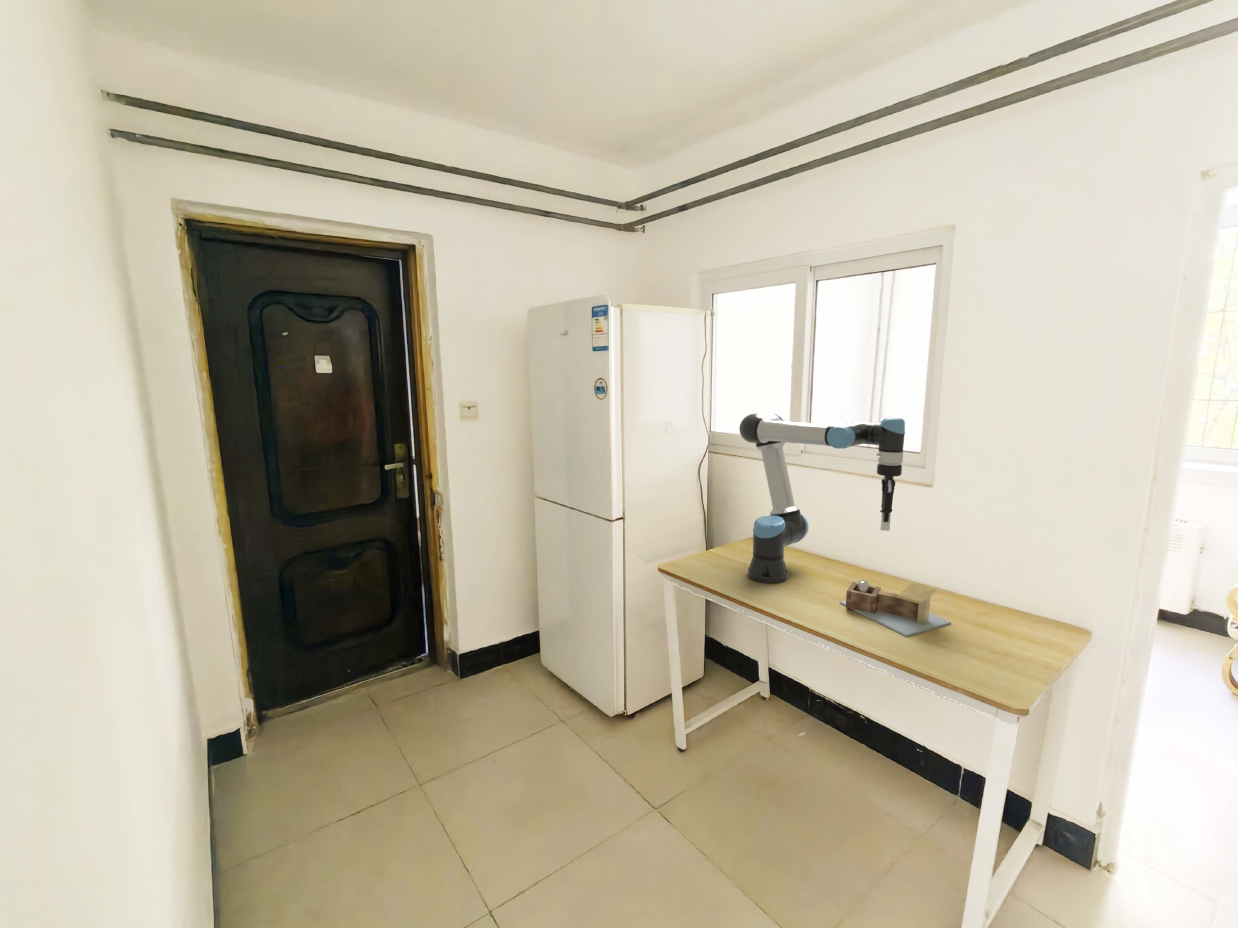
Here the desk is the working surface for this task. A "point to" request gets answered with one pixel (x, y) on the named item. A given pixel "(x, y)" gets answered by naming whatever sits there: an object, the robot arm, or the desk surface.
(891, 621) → the board
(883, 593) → the link
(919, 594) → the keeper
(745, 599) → the desk surface
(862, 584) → the cylinder
